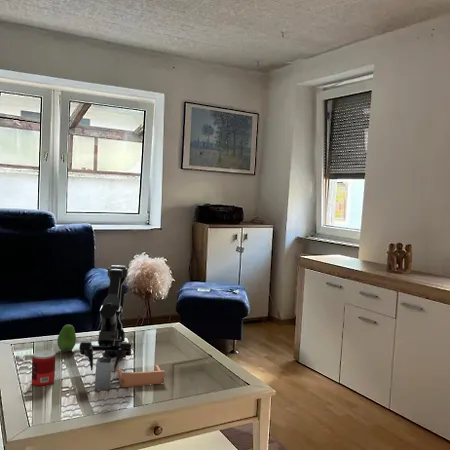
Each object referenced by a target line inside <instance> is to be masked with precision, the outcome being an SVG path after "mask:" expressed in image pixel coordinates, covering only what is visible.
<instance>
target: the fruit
mask: <svg viewBox="0 0 450 450" xmlns="http://www.w3.org/2000/svg"><path fill="white" fill-rule="evenodd" d="M76 336H77V335H76V330H75V327H74V326H73V324H65V325H64V326H62V329H61V330H60V331H59V333H58V336H57V347H58V348H59V350H60V351H62V352H64V353H67V352H71V351H72V350H73V349H74V347H75V346H76V343H77V342H76V341H77V337H76Z"/></svg>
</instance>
